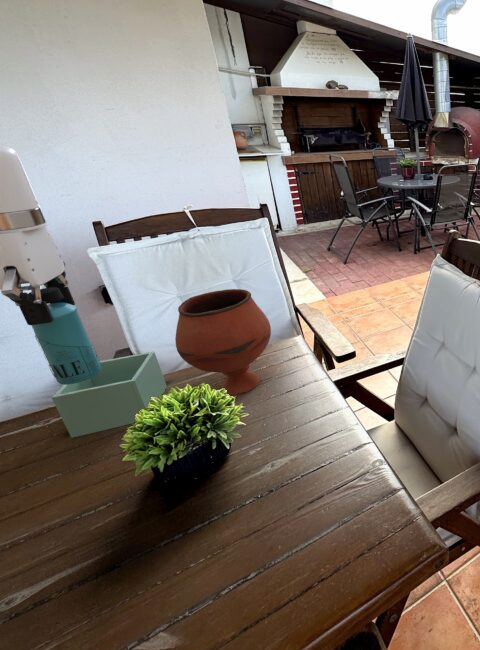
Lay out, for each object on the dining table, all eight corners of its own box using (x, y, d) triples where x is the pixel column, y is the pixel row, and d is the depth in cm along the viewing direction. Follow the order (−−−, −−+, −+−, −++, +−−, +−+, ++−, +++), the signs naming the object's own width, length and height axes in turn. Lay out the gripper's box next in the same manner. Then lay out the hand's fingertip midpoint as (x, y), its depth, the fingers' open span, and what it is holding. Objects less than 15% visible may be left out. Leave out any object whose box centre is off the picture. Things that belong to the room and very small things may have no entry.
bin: (71, 438, 87) (51, 397, 83) (98, 401, 99) (82, 364, 95) (150, 419, 93) (134, 380, 89) (167, 386, 104) (154, 351, 100)
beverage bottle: (102, 368, 84) (65, 280, 77) (109, 380, 80) (71, 288, 73) (56, 383, 79) (13, 290, 72) (62, 396, 75) (16, 300, 68)
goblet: (183, 390, 103) (153, 302, 94) (263, 357, 117) (243, 278, 108) (211, 421, 92) (179, 326, 83) (294, 381, 106) (275, 296, 98)
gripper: (14, 212, 74) (52, 300, 80) (-63, 235, 59) (-8, 340, 65) (68, 209, 77) (101, 294, 83) (8, 230, 62) (53, 331, 68)
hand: (52, 314), depth 74 cm, fingers closed on beverage bottle, 6 cm apart
